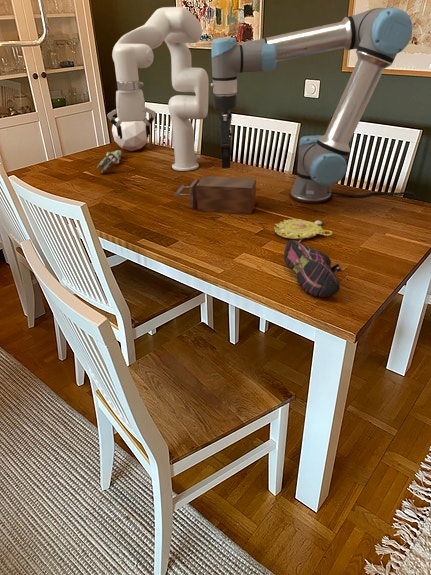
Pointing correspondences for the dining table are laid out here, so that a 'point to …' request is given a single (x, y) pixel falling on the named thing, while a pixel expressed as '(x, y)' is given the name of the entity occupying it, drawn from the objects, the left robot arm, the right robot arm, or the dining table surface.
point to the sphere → (131, 135)
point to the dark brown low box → (226, 194)
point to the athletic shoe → (312, 269)
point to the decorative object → (300, 229)
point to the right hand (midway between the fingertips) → (226, 161)
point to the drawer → (190, 192)
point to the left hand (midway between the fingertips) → (134, 137)
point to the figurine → (110, 160)
